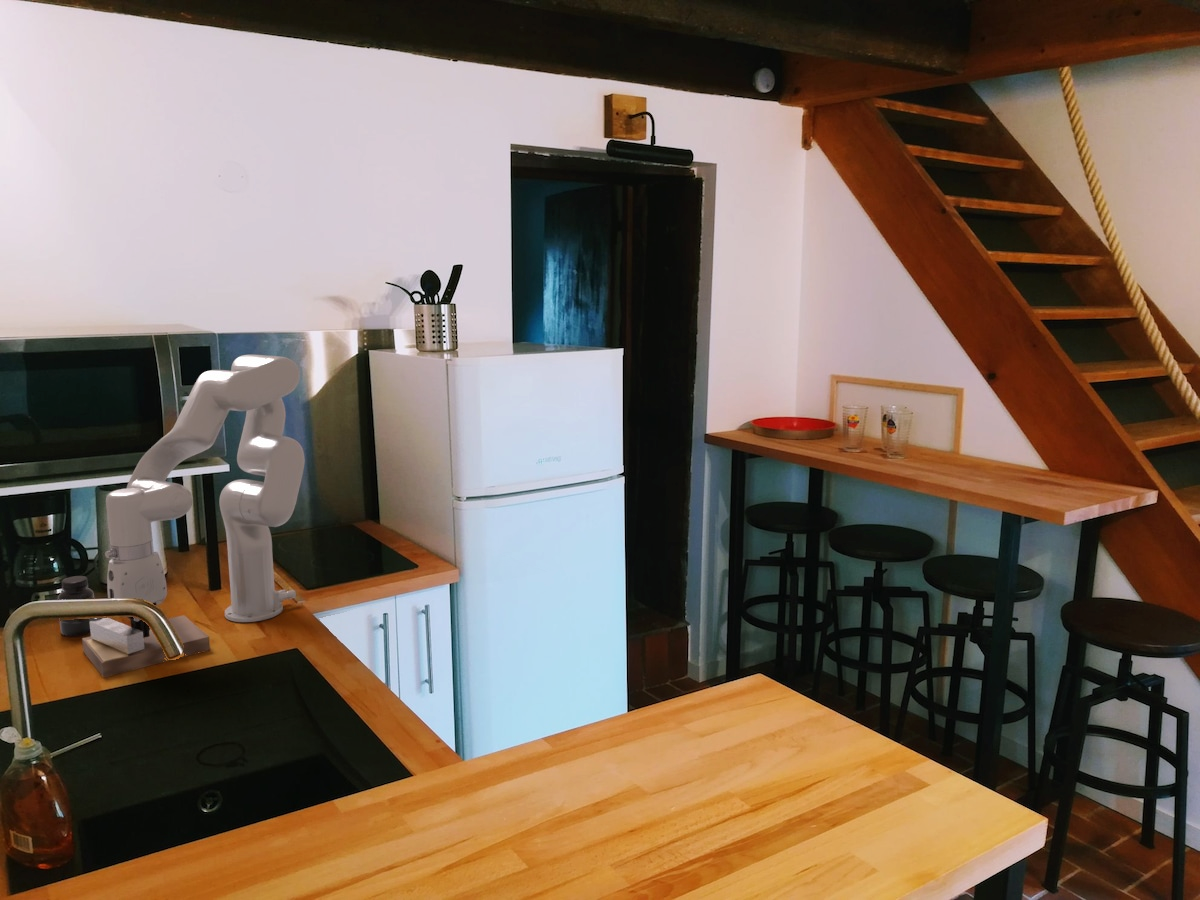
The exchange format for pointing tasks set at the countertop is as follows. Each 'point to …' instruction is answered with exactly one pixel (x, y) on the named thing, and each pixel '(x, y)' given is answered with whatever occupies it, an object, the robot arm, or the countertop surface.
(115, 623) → the stool leg
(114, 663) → the stool seat
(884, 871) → the countertop surface
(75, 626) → the supplement bottle
